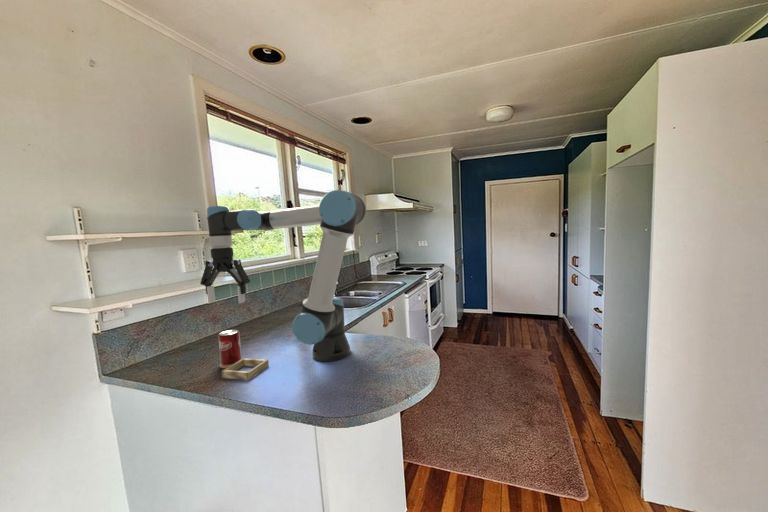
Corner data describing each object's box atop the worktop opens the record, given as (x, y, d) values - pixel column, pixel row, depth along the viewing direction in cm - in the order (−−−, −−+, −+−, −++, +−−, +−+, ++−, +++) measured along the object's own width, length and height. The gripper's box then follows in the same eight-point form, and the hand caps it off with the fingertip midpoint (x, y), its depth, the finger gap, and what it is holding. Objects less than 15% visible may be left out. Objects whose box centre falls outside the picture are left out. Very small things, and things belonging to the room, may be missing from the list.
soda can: (227, 368, 113) (225, 336, 112) (216, 364, 117) (214, 334, 116) (245, 360, 119) (243, 330, 118) (234, 357, 123) (232, 328, 122)
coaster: (247, 360, 121) (247, 358, 121) (232, 368, 113) (232, 367, 113) (230, 359, 123) (229, 357, 123) (214, 367, 115) (214, 366, 115)
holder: (268, 366, 114) (268, 359, 114) (249, 380, 104) (248, 373, 103) (243, 364, 117) (243, 358, 117) (222, 377, 106) (221, 371, 106)
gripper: (256, 245, 116) (261, 300, 117) (202, 248, 121) (207, 300, 123) (243, 246, 108) (248, 304, 110) (186, 249, 114) (191, 304, 116)
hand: (226, 302), depth 116 cm, fingers open, 13 cm apart
